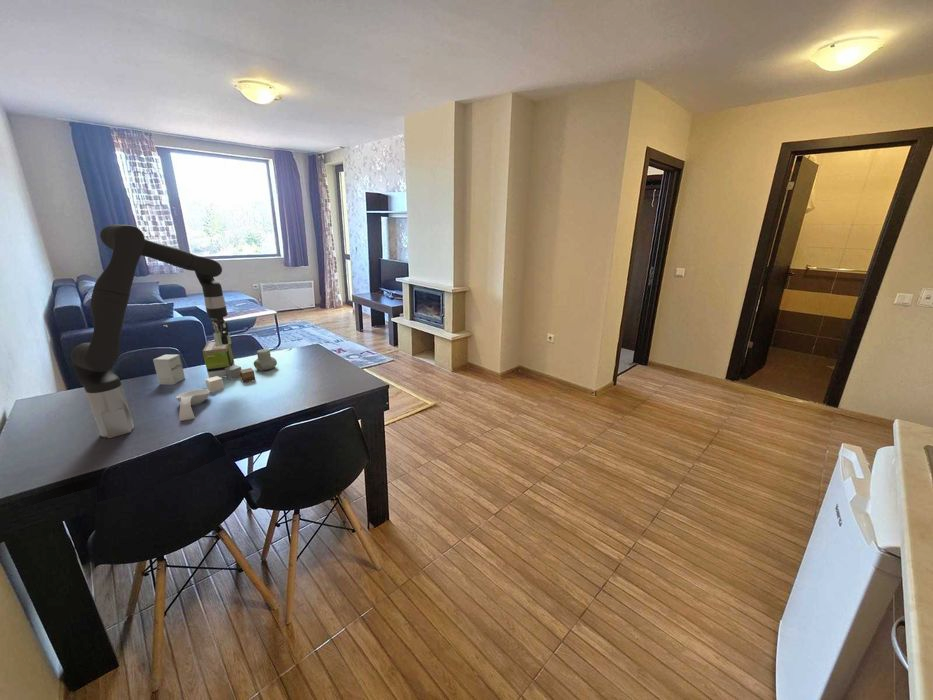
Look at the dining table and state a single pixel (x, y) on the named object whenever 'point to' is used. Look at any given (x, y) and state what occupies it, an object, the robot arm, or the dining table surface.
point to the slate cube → (233, 372)
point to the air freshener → (264, 360)
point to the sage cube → (218, 339)
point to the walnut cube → (247, 375)
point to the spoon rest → (191, 402)
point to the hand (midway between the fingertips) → (223, 342)
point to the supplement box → (169, 369)
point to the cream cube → (214, 383)
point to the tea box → (217, 359)
